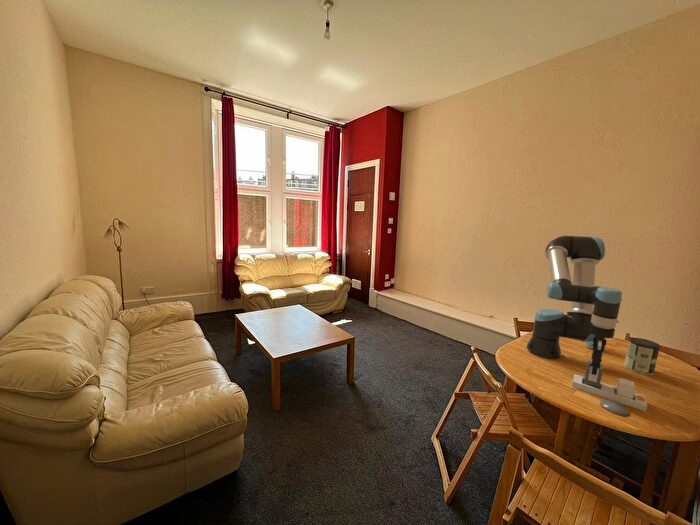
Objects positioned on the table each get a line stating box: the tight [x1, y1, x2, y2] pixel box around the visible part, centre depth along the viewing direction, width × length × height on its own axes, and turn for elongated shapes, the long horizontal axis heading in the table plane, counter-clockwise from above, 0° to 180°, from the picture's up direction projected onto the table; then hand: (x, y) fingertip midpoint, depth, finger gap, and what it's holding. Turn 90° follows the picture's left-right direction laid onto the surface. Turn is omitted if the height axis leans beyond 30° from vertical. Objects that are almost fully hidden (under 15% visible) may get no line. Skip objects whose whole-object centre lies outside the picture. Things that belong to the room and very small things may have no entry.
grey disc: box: [599, 398, 630, 417], centre depth 107 cm, size 8×8×1 cm
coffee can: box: [623, 337, 661, 376], centre depth 135 cm, size 10×10×14 cm
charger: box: [584, 360, 604, 387], centre depth 118 cm, size 5×5×8 cm
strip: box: [571, 373, 648, 412], centre depth 116 cm, size 22×9×3 cm, turn 49°
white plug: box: [616, 377, 636, 400], centre depth 112 cm, size 4×4×6 cm
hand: (592, 377), depth 118 cm, fingers closed on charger, 5 cm apart
